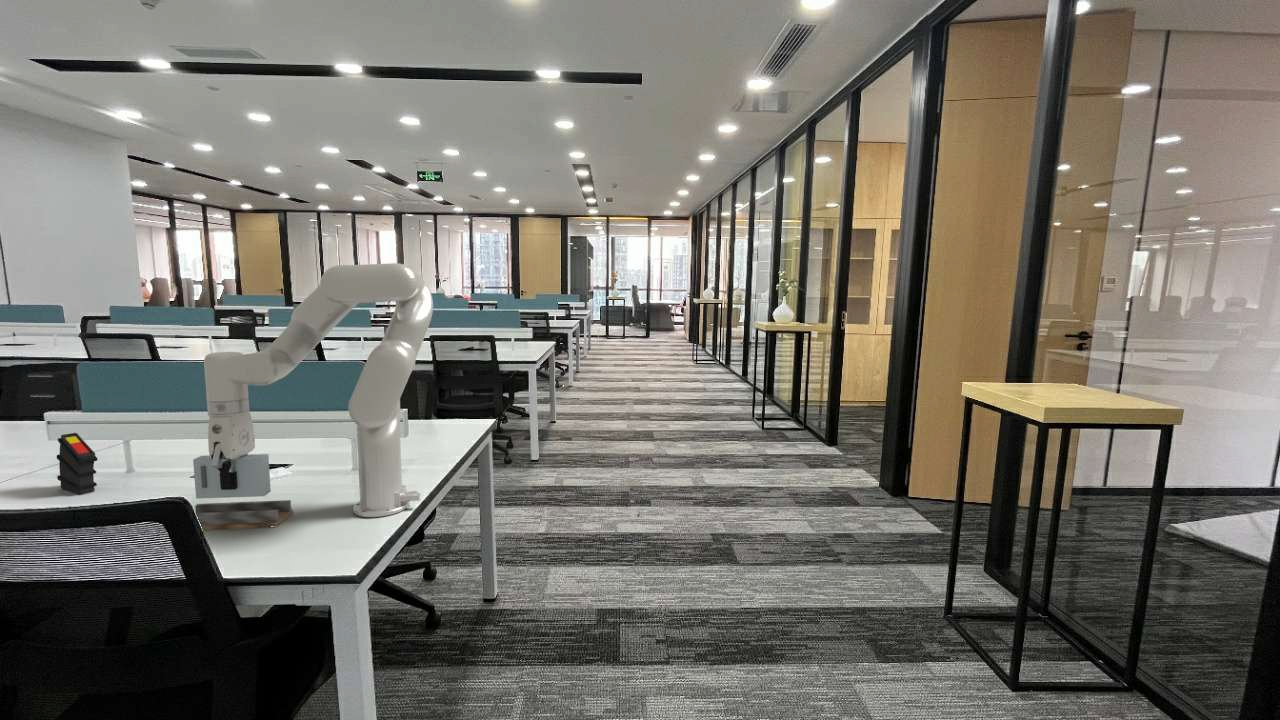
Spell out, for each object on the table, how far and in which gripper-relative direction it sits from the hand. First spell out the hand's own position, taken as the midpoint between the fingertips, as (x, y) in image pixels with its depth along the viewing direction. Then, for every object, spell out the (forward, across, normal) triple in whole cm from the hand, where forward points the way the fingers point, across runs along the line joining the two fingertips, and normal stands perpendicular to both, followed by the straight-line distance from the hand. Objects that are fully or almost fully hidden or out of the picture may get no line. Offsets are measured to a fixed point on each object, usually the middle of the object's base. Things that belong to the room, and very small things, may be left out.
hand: (233, 485), depth 127 cm
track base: (+9, 0, 0) cm, 9 cm away
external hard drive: (+10, +33, +10) cm, 36 cm away
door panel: (+2, 0, 0) cm, 2 cm away
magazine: (+9, +27, +52) cm, 59 cm away
